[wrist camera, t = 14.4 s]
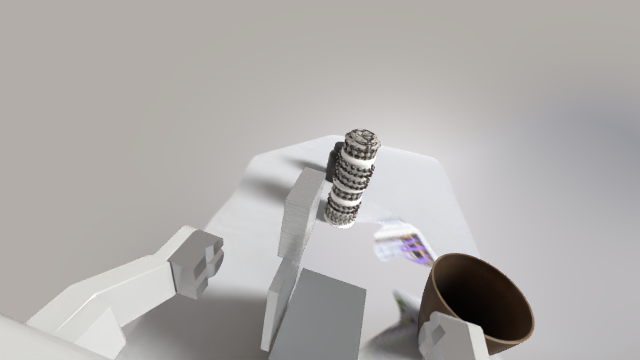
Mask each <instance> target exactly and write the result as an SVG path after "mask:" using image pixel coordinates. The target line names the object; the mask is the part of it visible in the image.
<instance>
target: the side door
mask: <svg viewBox="0 0 640 360" xmlns="http://www.w3.org/2000/svg"><path fill="white" fill-rule="evenodd" d="M325 177H326V173H325V172H322V171H318V170H315V169H312V168H308V167H305V168H304V170H303V171H302V173H301V174H300V176H299V178H298V179H297V181H296V183H295V184H294V186H293V188H292V189H291V191H290V192H289V194H288V196H287V197H286V201H285V208H284V214H283V221H282V228H281V235H280V241H279V248H278V255H277V256H279V257H282V258H283V260H282V262H281V264H280V266H279V269H278V271H277V273H276V275H275V277H274V279H273V281H272V283H271V285H270V288H269V290H268V296H267V304H266V311H265V319H264V326H263V334H262V341H261V349H262V350H264V351H267V352H268V351H269V349H270V346H271V344H272V341H273V339H274V336H275V333H276V331H277V328H278V326H279V323H280V321H281V318H282V315H283V313H284V310H285V308H286V305H287V303H288V300H289V297H290V295H291V292H292V290H293V287H294V285H295V282H296V277H297V273H298V268H299V264H300V259H301V256H302V253H303V251H304V249H305V246H306V244H307V241H308V239H309V236H310V234H311V231H312V229H313V226H314V223H315V219H316V214H317V210H318V206H319V202H320V198H321V194H322V189H323V185H324V181H325Z"/></svg>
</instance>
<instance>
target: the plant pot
mask: <svg viewBox="0 0 640 360" xmlns="http://www.w3.org/2000/svg"><path fill="white" fill-rule="evenodd" d="M435 311H437V312H440V313H443V314H446V315H449V316H452V317H455V318H458V319H461V320H463V321H466V322H469V323H472V324H475V325H478V326H480V327H481V329H482V330H483V334H484V338H485V342H486V346H487V350H488V354H489V356H490V355H494V354H496V353H499V352H502V351H504V350H507V349H509V348H511V347H513V346H516V345H518V344H520V343H522V342H524V341H525V340H527V339H528V338H529V337H530V336H531V335H532V333H533V330H534V316H533V313H532V310H531V307H530V305H529V303H528V301H527V300H526V298H525V296H524V295H523V294H522V292H521V291H520V290H519V289H518V287H517V286H516V285H515V284H514V283H513V282H512V281H511V280H510V279H509V278H508V277H507V276H506V275H504V274H503V273H502V272H501V271H499V270H498V269H496V268H495V267H493V266H492V265H490V264H489V263H486V262H485V261H483V260H481V259H478V258H476V257H473V256H470V255H466V254H461V253H450V254H445V255H443V256H441V257H439V258H438V259H437V260H436V261H435V263H434V264H433V267H432V269H431V272H430V275H429V277H428V280H427V283H426V286H425V289H424V292H423V296H422V301H421V305H420V311H419V321H418V336H419V333H420V329H421V327H422V325H423V324H424V323H425V322H428V321H430V315H431V314H432V313H433V312H435Z"/></svg>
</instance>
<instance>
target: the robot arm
mask: <svg viewBox="0 0 640 360" xmlns="http://www.w3.org/2000/svg"><path fill="white" fill-rule="evenodd" d="M222 246H223V238H220V237H217V236H215V235H212V234H209V233H207V232H204V231H201V230H199V229H196V228H193V227H190V226H187V225H186V226H184V227H182V228H180V229H179V230H178V231H177V232H176V233H175V234H174V235H173V236H172V237H171V238H170V240H168V241H167V242H166V243H165V244H164V245H163V246H162V247H161V248H160V249H159V250H158V251H157V252H156V253H155V254H154V255H153V256H151V255H147V256H144V257H142V258H139V259H137V260H134V261H132V262H129V263H127V264H124V265H122V266H119V267H116V268H114V269H111V270H108V271H106V272H103V273H101V274H98V275H96V276H93V277H90V278H88V279H85V280H83V281H80V282H78V283H75V284H72V285H70V286H69V287H68V288H67V289H65V290H64V291H63V292H62V293H61V294H59V295H58V296H57V297H56V298H55V299H53V300H52V301H51V302H50V303H49V304H47V305H46V306H45V307H44V308H43V309H41V310H40V311H39V312H38V313H37V314H35V315H34V316H33V317H32V318H31V319H29V320H28V321H27V322H26V323H23V322H20V321H18V320H15V319H13V318H10V317H8V316H6V315H3V314H1V313H0V360H113V359H114V358H115V357H116V356H117V354H118V353H119V352H120V351H121V349H122V348H123V347H124V346H125V344H126V337H125V335H124V333H123V331H122V329H121V327H123V326H124V325H126V324H127V323H129V322H131V321H133V320H134V319H136V318H138V317H139V316H141V315H143V314H144V313H146V312H148V311H149V310H151V309H153V308H154V307H156V306H158V305H159V304H161V303H163V302H164V301H166V300H168V299H169V298H171V297H173V296H174V295H176V293H177V294H180V295H183V296H186V297H189V298H192V299H195V300H198V298H199V297H200V296H201V294H202V293H203V291H204V290H205V289H206V287H207V286H208V278H210V277H212V276H214V275H215V274H216V273H217V271H218V270H219V268H220V266H221V264H222V261H223V257H224V252H223V251H222V249H221V247H222ZM418 348H419V351H420V352H421V354H422V356H423V358H422V359H421V360H490V358H489V354H488V350H487V346H486V342H485V338H484V334H483V330H482V329H481V327H480V326H478V325H475V324H472V323H469V322H466V321H463V320H461V319H458V318H455V317H452V316H449V315H446V314H443V313H440V312H437V311H435V312H433V313H432V314H431V315H430V321H428V322H425V323H424V324H423V325H422V327H421V329H420V333H419V339H418Z"/></svg>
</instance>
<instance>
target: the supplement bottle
mask: <svg viewBox="0 0 640 360" xmlns="http://www.w3.org/2000/svg"><path fill="white" fill-rule="evenodd" d="M343 146H344V142H337V143H336V144H335V147H334V150H332V151H331V152H330V155H329V159H328V163H327V168H326V172H325V173H326V178H327V180H329V181H331V182H333V176H334V173H335V171H334V169H335V168H336V166H335V164H337V160H338V159H337V156H338V155H339V154H338V151H340V148H341V149H342V147H343ZM339 159H340V158H339ZM338 165H339V164H338ZM333 183H334V182H333Z"/></svg>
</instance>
